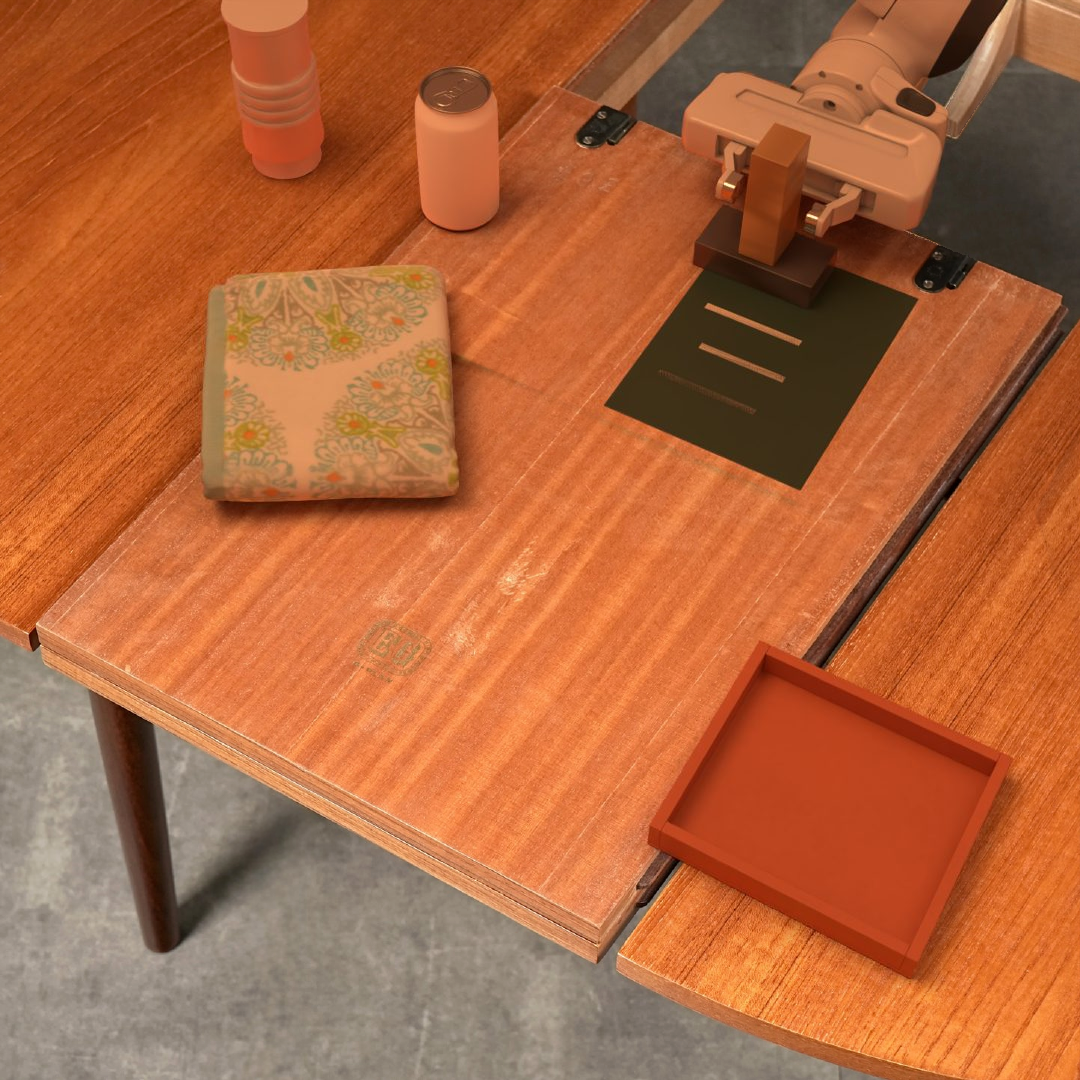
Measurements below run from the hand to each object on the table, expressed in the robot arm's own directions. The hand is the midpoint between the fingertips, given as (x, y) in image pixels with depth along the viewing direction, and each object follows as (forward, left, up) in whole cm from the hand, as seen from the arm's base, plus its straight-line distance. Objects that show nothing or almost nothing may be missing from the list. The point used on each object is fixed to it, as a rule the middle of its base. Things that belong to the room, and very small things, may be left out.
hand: (767, 211), depth 128 cm
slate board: (-4, +7, -8) cm, 11 cm away
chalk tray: (-24, +40, -8) cm, 47 cm away
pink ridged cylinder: (+41, +6, -8) cm, 42 cm away
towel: (+22, +27, -8) cm, 36 cm away
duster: (0, -1, -7) cm, 7 cm away
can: (+25, +4, -8) cm, 27 cm away
